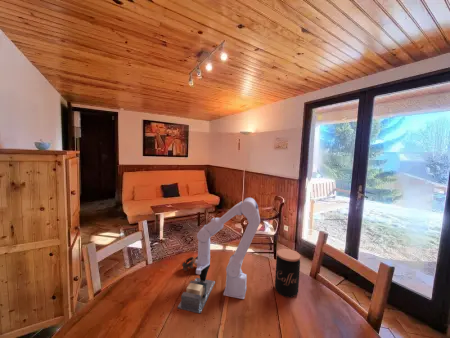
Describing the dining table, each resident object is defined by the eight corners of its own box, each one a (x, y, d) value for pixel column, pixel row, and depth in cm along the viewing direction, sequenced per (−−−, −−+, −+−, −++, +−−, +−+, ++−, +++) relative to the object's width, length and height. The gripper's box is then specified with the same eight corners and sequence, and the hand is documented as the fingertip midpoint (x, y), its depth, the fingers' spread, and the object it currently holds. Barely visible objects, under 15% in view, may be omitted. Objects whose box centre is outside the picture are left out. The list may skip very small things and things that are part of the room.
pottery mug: (196, 279, 101) (188, 265, 100) (184, 281, 106) (177, 267, 105) (208, 263, 111) (201, 250, 110) (197, 265, 116) (190, 253, 115)
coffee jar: (272, 293, 92) (274, 255, 91) (277, 281, 101) (279, 246, 100) (296, 301, 87) (298, 262, 86) (299, 288, 96) (301, 252, 95)
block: (202, 296, 87) (202, 285, 87) (199, 302, 83) (199, 290, 83) (189, 293, 88) (190, 282, 88) (186, 299, 85) (186, 288, 84)
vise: (215, 282, 98) (215, 272, 98) (200, 313, 78) (201, 301, 78) (196, 278, 100) (196, 269, 100) (177, 308, 80) (177, 296, 80)
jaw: (210, 286, 93) (210, 277, 93) (205, 296, 87) (205, 287, 86) (194, 283, 95) (194, 274, 95) (188, 293, 88) (189, 283, 88)
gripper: (201, 245, 102) (200, 270, 103) (189, 258, 88) (188, 288, 89) (214, 247, 100) (213, 273, 101) (205, 261, 86) (203, 291, 87)
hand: (202, 280), depth 95 cm, fingers closed
